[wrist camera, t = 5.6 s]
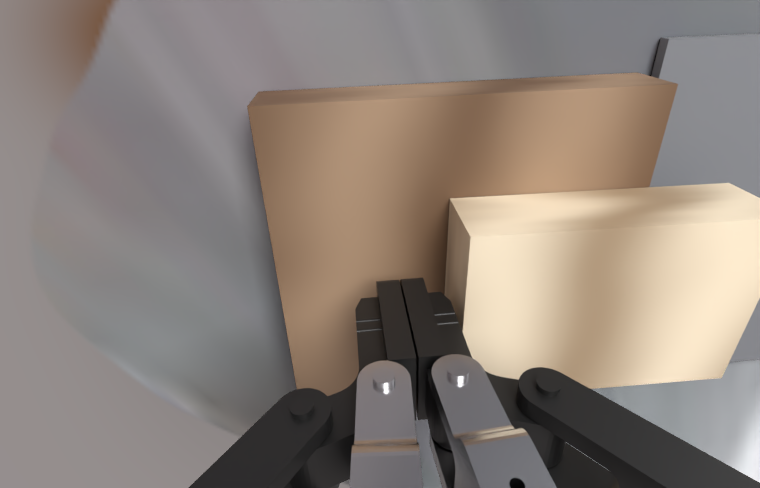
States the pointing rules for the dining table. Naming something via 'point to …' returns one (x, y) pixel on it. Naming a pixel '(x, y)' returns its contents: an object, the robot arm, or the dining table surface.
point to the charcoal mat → (713, 125)
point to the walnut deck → (424, 181)
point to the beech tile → (606, 281)
